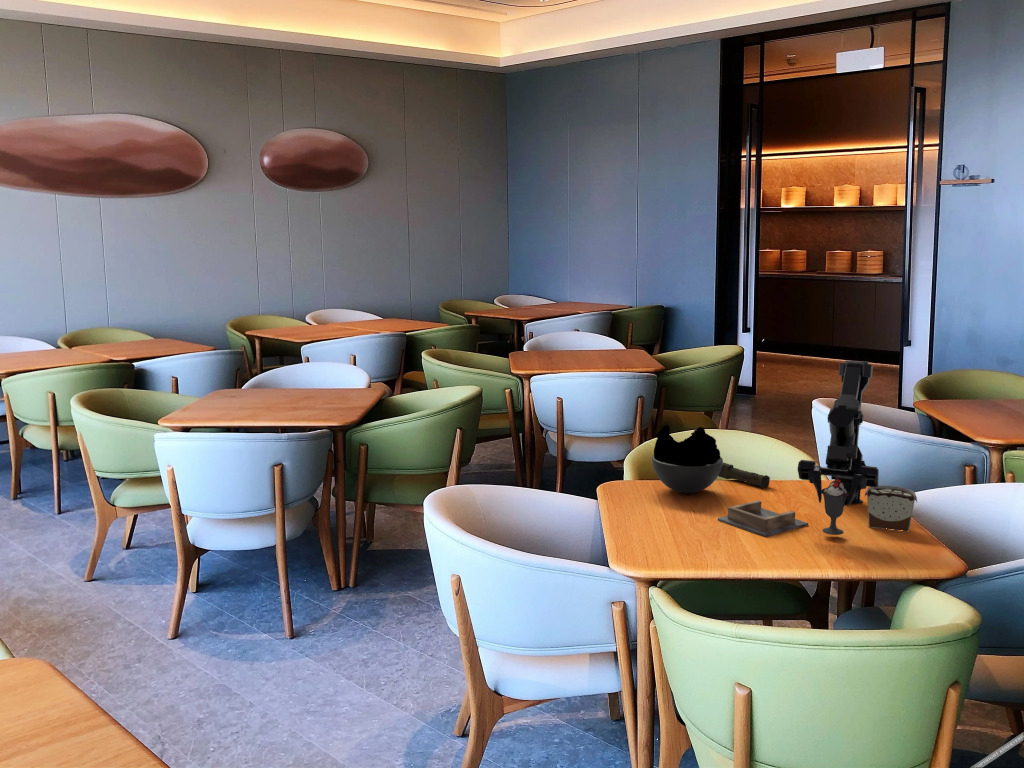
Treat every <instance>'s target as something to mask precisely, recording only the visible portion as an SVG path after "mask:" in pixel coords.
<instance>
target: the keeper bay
mask: <svg viewBox="0 0 1024 768" xmlns="http://www.w3.org/2000/svg"><path fill="white" fill-rule="evenodd" d="M717 521H719V522H721V523H725V524H727V525H730V526H732V527H735V528H739V529H742V530H744V531H747V532H750V533H752V534H756V535H758V536H761V537H764V538H768V537H771V536H773V535H774V536H775V535H778V534H781V533H784V532H785V533H786V532H788V531H793V530H797V529H800V528H803V527H806V526H809V522H806V521H803V520H801V519H797V518H796V511H794V510H790V511H786V512H782V513H778V512H775V511H772V510H770V509H767V508H766V509H765V508H762V501H761V500H760V499H759V500H758V499H757V500H753V501H750V502H749V501H748V502H746V503H741V504H738V505H733V506H728V507H727V515H725V516H720V517H717Z"/></svg>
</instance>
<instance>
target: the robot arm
mask: <svg viewBox="0 0 1024 768" xmlns="http://www.w3.org/2000/svg"><path fill="white" fill-rule="evenodd" d="M873 370H874V365H872V364H869V361H864V360H862V361H861V360H845V361H844V362H839V368H838V376H839V377H841V383H842V385H841V392H840V396H839V397H837V399H835V400H834V402H833V406H832V408H830V409H829V412H828V414H827V423H828V424H829V433H830V440H829V445H827V449H826V457H825V465H826V466H821V465H817V464H816V463H817V462H816V460H808V459H801V460H799V461H798V463H797V473H798V478H799V479H800V480H803V481H808V482H809V483H810V484H813V485H814V488H815V490H816V496H817V499H818V503H820V504H821V503H822V500H823V499H822V497H823V494H822V493H821V490H822V489H823V488H822V486H823V485H822V483H823V482H822V476H829V477H831V478H830V479H831V480H835V479H836V480H837V478H838V479H839V480H840V481H841V483H842V484H843V486H844V489H845V490H847V491H848V492H849V495H848V496H847V497H846V500H845V504H844V505H847V507H849V506H850V505H851V504H863V503H864V500H862V499H861V491H862V490H867V487H868V488H869V487H878V486H879V482H880V481H879V480H880V475H879V474H880V472H879V470H880V469H879V468H878V467H877V466H872V465H871V466H869V465H866V462H865V460H864V459H863V457H864V455H863V454H862V451H861V449H860V447H859V435H860V426H861V425H862V424H863V422H864V421H865V420H864V419H865V416H864V413H863V412H862V399H863V393H864V392H865V391H866V389H867V388H868V387H869V385H870V379H873V378H872V377H873ZM838 475H839V477H837V476H838ZM836 477H837V478H836Z"/></svg>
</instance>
